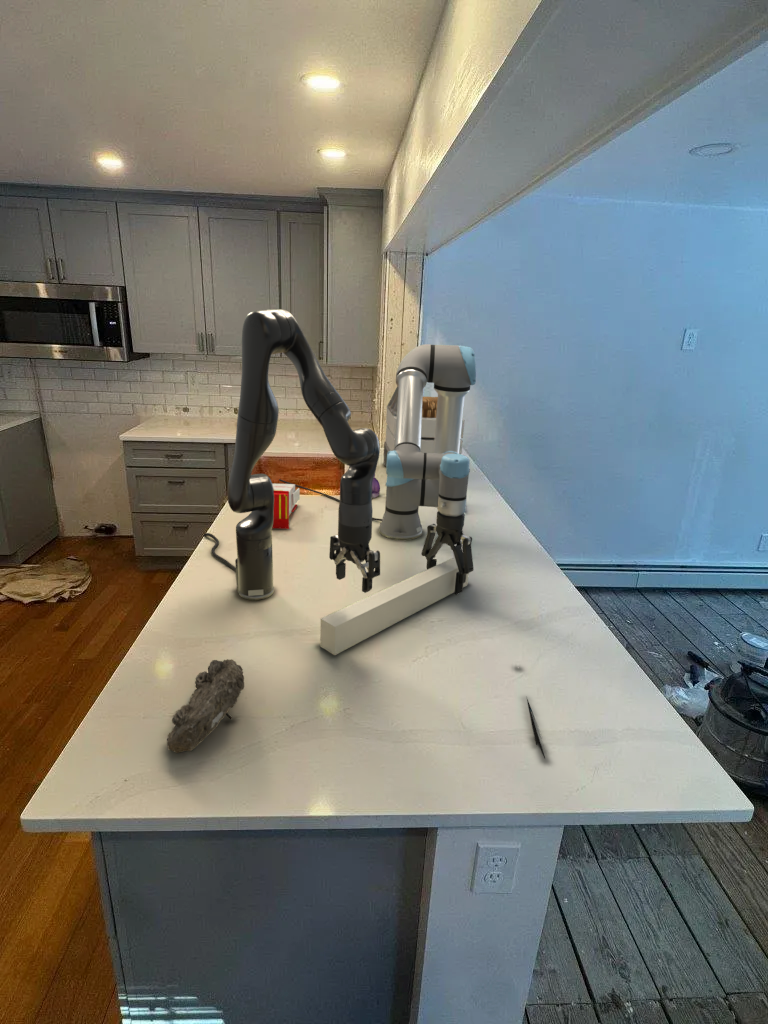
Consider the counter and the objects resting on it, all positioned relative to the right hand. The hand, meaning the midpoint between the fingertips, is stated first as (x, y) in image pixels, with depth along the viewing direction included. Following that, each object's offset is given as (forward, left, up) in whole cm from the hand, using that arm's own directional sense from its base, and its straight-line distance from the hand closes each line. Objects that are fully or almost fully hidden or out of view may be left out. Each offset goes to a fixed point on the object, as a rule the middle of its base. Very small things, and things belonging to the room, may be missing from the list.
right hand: (444, 586), depth 160 cm
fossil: (+10, -74, -1) cm, 75 cm away
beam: (+2, -18, -1) cm, 18 cm away
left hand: (+4, -36, +13) cm, 38 cm away
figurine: (-78, +37, -1) cm, 86 cm away
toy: (-78, -6, -1) cm, 78 cm away
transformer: (-92, +79, -1) cm, 121 cm away
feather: (+46, -23, -1) cm, 52 cm away
